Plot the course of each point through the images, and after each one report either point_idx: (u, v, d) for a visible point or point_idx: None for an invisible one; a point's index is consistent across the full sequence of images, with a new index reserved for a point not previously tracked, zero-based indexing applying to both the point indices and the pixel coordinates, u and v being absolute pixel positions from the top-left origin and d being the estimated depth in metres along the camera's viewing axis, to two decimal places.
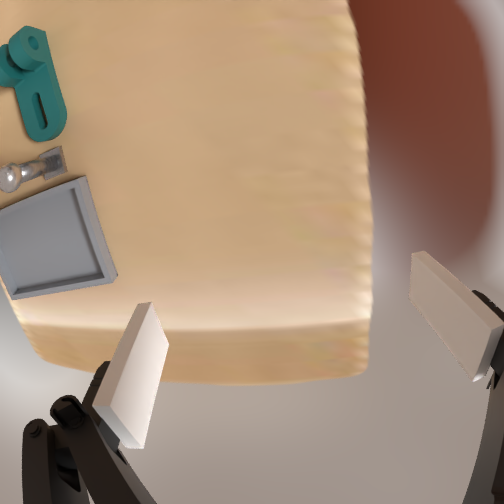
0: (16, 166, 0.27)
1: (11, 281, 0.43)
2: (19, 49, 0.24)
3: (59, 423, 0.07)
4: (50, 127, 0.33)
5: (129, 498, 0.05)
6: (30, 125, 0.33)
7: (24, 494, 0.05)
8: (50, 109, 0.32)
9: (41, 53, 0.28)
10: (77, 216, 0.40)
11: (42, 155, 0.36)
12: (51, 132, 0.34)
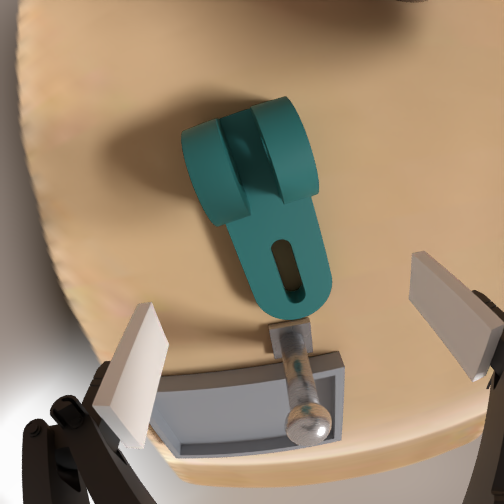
0: (327, 412, 0.20)
1: (175, 441, 0.37)
2: (307, 174, 0.17)
3: (59, 423, 0.07)
4: (310, 302, 0.26)
5: (129, 498, 0.05)
6: (266, 293, 0.26)
7: (24, 494, 0.05)
8: (314, 276, 0.25)
9: None
10: None
11: (276, 330, 0.29)
12: (310, 309, 0.27)
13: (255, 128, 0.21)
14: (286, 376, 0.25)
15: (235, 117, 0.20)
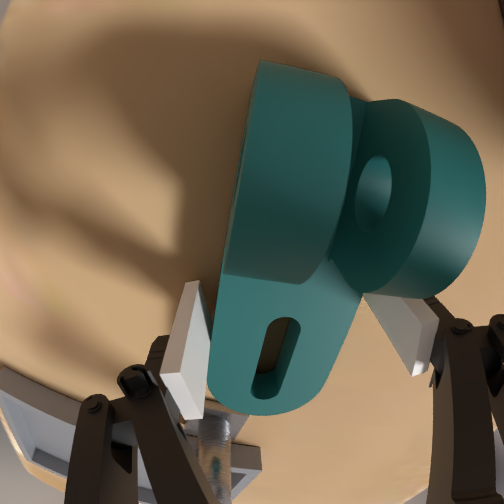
0: None
1: (30, 445, 0.22)
2: (443, 275, 0.08)
3: (124, 391, 0.09)
4: (277, 404, 0.17)
5: (187, 476, 0.06)
6: (227, 374, 0.16)
7: (69, 471, 0.06)
8: (303, 378, 0.16)
9: None
10: None
11: None
12: (272, 410, 0.17)
13: (358, 136, 0.11)
14: None
15: None
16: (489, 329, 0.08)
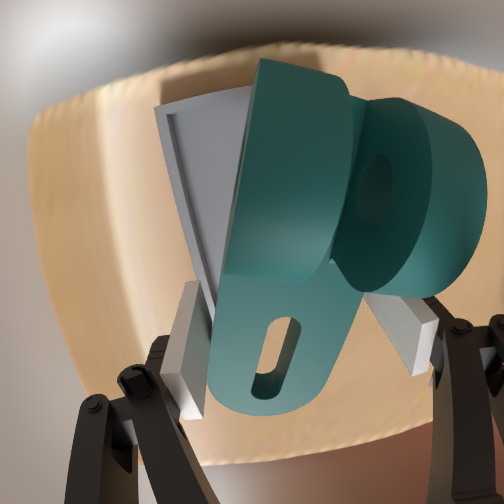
0: None
1: (190, 109, 0.26)
2: (445, 274, 0.08)
3: (124, 391, 0.09)
4: (277, 404, 0.17)
5: (187, 476, 0.06)
6: (228, 374, 0.16)
7: (70, 471, 0.06)
8: (304, 378, 0.16)
9: None
10: None
11: None
12: (272, 411, 0.17)
13: (358, 135, 0.11)
14: None
15: None
16: (489, 329, 0.08)
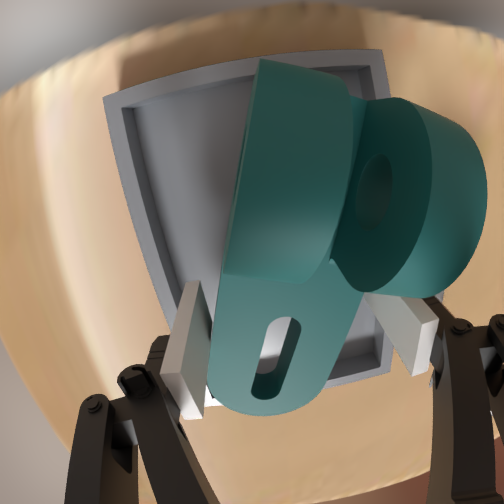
0: None
1: (162, 97, 0.15)
2: (445, 274, 0.08)
3: (124, 391, 0.09)
4: (277, 404, 0.17)
5: (187, 476, 0.06)
6: (227, 374, 0.16)
7: (70, 471, 0.06)
8: (304, 378, 0.16)
9: None
10: None
11: None
12: (272, 411, 0.17)
13: (358, 135, 0.11)
14: None
15: None
16: (489, 329, 0.08)
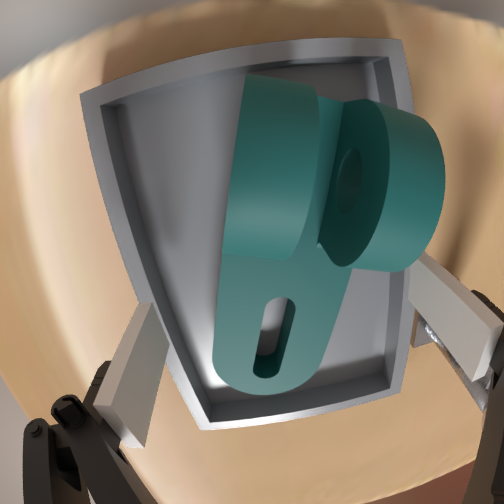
0: None
1: (148, 93, 0.13)
2: (411, 247, 0.09)
3: (60, 422, 0.07)
4: (278, 382, 0.19)
5: (130, 498, 0.05)
6: (231, 354, 0.18)
7: (25, 494, 0.05)
8: (301, 356, 0.18)
9: None
10: (330, 366, 0.21)
11: None
12: (274, 389, 0.19)
13: (337, 133, 0.13)
14: None
15: (319, 102, 0.12)
16: None
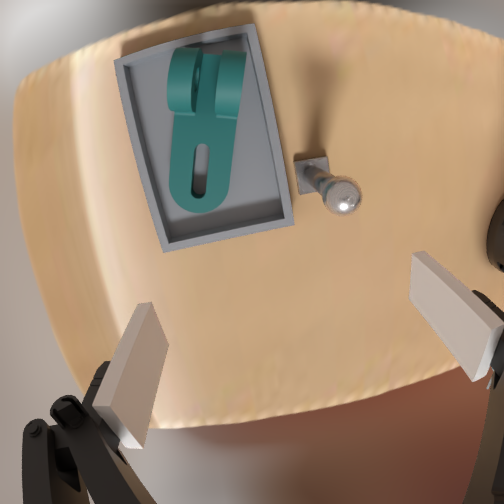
0: None
1: (143, 60, 0.28)
2: (234, 92, 0.25)
3: (59, 423, 0.07)
4: (206, 202, 0.34)
5: (129, 498, 0.05)
6: (178, 180, 0.33)
7: (24, 494, 0.05)
8: (216, 181, 0.33)
9: None
10: (243, 204, 0.37)
11: (326, 162, 0.35)
12: (204, 208, 0.34)
13: None
14: (329, 173, 0.30)
15: (213, 57, 0.28)
16: None
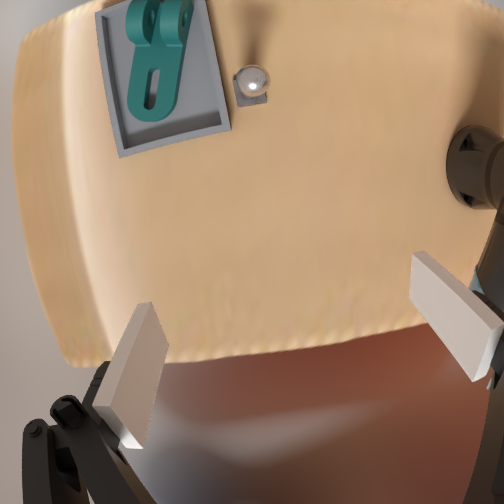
0: (263, 92, 0.29)
1: (117, 12, 0.31)
2: (173, 19, 0.27)
3: (59, 423, 0.07)
4: (155, 112, 0.37)
5: (129, 498, 0.05)
6: (134, 96, 0.35)
7: (24, 494, 0.05)
8: (164, 95, 0.36)
9: (184, 32, 0.32)
10: (188, 116, 0.39)
11: None
12: (153, 117, 0.37)
13: None
14: None
15: None
16: None
